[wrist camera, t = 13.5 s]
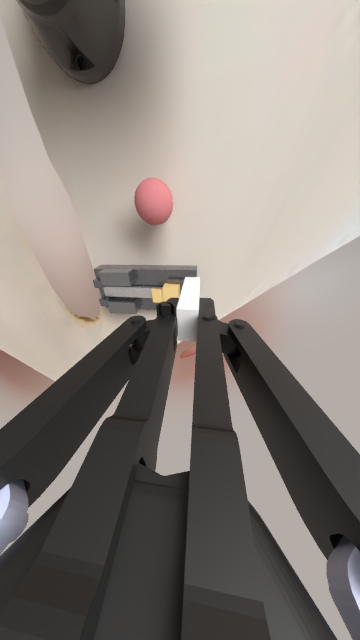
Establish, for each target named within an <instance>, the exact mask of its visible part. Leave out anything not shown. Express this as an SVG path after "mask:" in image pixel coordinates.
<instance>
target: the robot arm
mask: <svg viewBox="0 0 360 640" xmlns="http://www.w3.org/2000/svg"><path fill="white" fill-rule="evenodd" d="M17 2H18V3H19V5H20V7H21V9H22V11H23V12H24V14H25V16H26V18H27V20H28V21H29V23H30V25H31V27H32V29H33V30H34V32H35V34H36V36H37V37H38V39H39V41H40V42H41V44H42V45H43V47H44V48H45V50H46V51H47V52H48V54H49V55H50V56H51V57H52V58H53V60H54V61H55V62H56V63H57V64H58V65H59V66H60V67H61V68H62V69H63V70H64V71H65V72H66V73H67V74H68V75H70V76H71V77H72V78H74V79H76V80H78V81H80V82H83V83H95V82H98V81H100V80H102V79H103V78H105V77H106V76H107V75H108V74H109V73H110V71H111V70H112V69H113V67H114V65H115V63H116V61H117V59H118V56H119V53H120V50H121V46H122V41H123V35H124V25H125V2H124V0H17ZM199 293H200V277H185V280H184V283H183V287H182V291H181V294H180V298H169V299H168V300H167V301H165V302H160V303H158V304H157V305H156V309H157V318H156V319H154V320H148V321H146V318H145V317H143V316H133V317H130V318H129V319H127V320H126V321H125V322H124V323H123V324H122V325H120V326H119V327H118V328H117V329H116V330H115V331H113V332H112V333H111V334H110V335H109V336H108V337H107V338H105V339H104V340H103V341H102V342H101V343H100V344H98V345H97V346H96V347H95V348H94V349H93V350H92V351H90V352H89V353H88V354H87V355H86V356H85V357H83V358H82V359H81V360H80V361H79V362H78V363H76V364H75V365H74V366H73V367H72V368H71V369H70V370H68V371H67V372H66V373H65V374H64V375H63V376H61V377H60V378H59V379H58V380H57V381H56V382H55V383H53V384H52V385H51V386H50V387H49V388H48V389H46V390H45V391H44V392H43V393H42V394H41V395H40V396H38V397H37V398H36V399H35V400H34V401H33V402H32V403H30V404H29V405H28V406H27V407H26V408H24V409H23V410H22V411H21V412H20V413H19V414H18V415H16V416H15V417H14V418H13V419H12V420H11V421H9V422H8V423H7V424H6V425H5V426H4V427H3V428H1V429H0V554H1V553H2V551H3V550H4V549H5V547H6V546H7V545H8V544H9V543H10V542H12V541H14V540H15V539H16V538H17V537H18V536H19V535H20V534H21V533H22V532H23V530H24V528H25V527H26V525H27V522H28V513H27V510H28V507H29V506H30V505H32V503H34V502H35V501H36V499H37V498H39V497H40V495H41V494H42V493H43V492H44V491H45V490H46V488H48V486H49V485H50V484H51V483H52V482H53V481H54V480H55V478H56V477H57V476H58V475H59V473H60V472H61V471H62V470H63V468H64V467H65V466H66V464H67V463H68V462H69V460H70V459H71V458H72V456H73V455H74V454H75V452H76V451H77V449H78V448H79V447H80V445H81V444H82V443H83V441H84V440H85V438H86V437H87V436H88V434H89V433H90V432H91V430H92V429H93V428H94V426H95V425H96V424H97V422H98V421H99V419H100V418H101V417H102V415H103V414H104V413H105V411H106V410H107V408H108V407H109V406H110V404H111V403H112V402H113V400H114V399H115V398H116V396H117V395H118V393H119V392H120V391H121V389H122V388H123V387H124V385H125V384H126V383H127V381H128V380H129V382H128V384H127V386H126V388H125V391H124V393H123V395H122V397H121V400H120V402H119V405H118V406H117V409H116V411H115V413H114V414H113V415H112V416H110V417H108V418H106V419H105V420H104V422H103V423H102V425H101V426H100V428H99V430H98V433H97V434H96V437H95V439H94V441H93V443H92V445H91V447H90V449H89V451H88V453H87V456H86V457H85V460H84V462H83V464H82V466H81V468H80V470H79V472H78V474H77V477H76V479H75V480H74V483H73V485H72V487H71V488H70V489H69V490H68V491H67V492H66V493H65V494H64V495H63V496H62V497H61V498H60V499H58V500H57V501H56V502H55V503H54V504H53V505H52V506H51V507H50V508H49V509H48V510H47V511H46V512H45V513H44V514H43V515H42V516H41V517H40V518H39V519H38V520H37V521H36V522H35V523H34V524H33V525H32V526H31V527H30V528H29V529H27V530H26V531H25V532H24V533H23V534H22V535H21V536H20V537H19V538H18V539H17V540H16V541H15V542H14V543H13V544H12V545H11V546H10V547H9V548H8V549H7V550H6V551H5V552H4V553H3V554H2V555H1V556H0V640H337V638H336V637H335V635H334V634H333V632H332V631H331V629H330V627H329V625H328V624H327V622H326V621H325V619H324V618H323V616H322V614H321V613H320V611H319V609H318V608H317V606H316V605H315V603H314V601H313V600H312V598H311V597H310V595H309V593H308V592H307V590H306V589H305V587H304V585H303V584H302V582H301V581H300V579H299V577H298V576H297V574H296V573H295V571H294V569H293V568H292V566H291V565H290V563H289V561H288V560H287V558H286V557H285V555H284V553H283V552H282V550H281V548H280V547H279V545H278V544H277V542H276V540H275V539H274V537H273V536H272V534H271V532H270V531H269V529H268V528H267V526H266V524H265V523H264V521H263V520H262V518H261V517H260V515H259V514H258V513H257V511H256V510H255V509H254V507H253V506H252V505H251V504H250V503H249V501H248V500H247V494H246V487H245V481H244V474H243V468H242V461H241V455H240V449H239V443H238V438H237V435H236V433H235V431H234V430H233V428H232V423H231V415H230V407H229V400H228V393H227V385H226V378H225V371H224V364H223V356H222V353H223V354H224V357H225V359H226V361H227V363H228V365H229V367H230V369H231V372H232V374H233V376H234V378H235V380H236V382H237V384H238V386H239V389H240V391H241V393H242V395H243V397H244V399H245V401H246V403H247V405H248V408H249V410H250V412H251V414H252V416H253V418H254V420H255V422H256V424H257V426H258V429H259V430H260V433H261V435H262V437H263V439H264V441H265V443H266V445H267V448H268V450H269V452H270V454H271V456H272V458H273V460H274V462H275V464H276V466H277V469H278V471H279V473H280V475H281V477H282V479H283V481H284V483H285V485H286V488H287V490H288V492H289V494H290V496H291V498H292V500H293V502H294V504H295V506H296V508H297V510H298V512H299V513H300V515H301V517H302V519H303V521H304V523H305V525H306V527H307V528H308V530H309V531H310V533H311V535H312V537H313V538H314V540H315V542H316V543H317V545H318V547H319V548H320V550H321V551H322V553H323V554H324V556H325V557H326V559H327V560H328V561H327V579H328V583H329V591H330V593H331V596H332V598H333V601H334V603H335V605H336V607H337V609H338V611H339V613H340V615H341V616H342V619H343V621H344V623H345V625H346V627H347V629H348V631H349V633H350V635H351V637H352V639H353V640H360V454H359V453H358V452H357V451H356V450H355V448H354V447H353V446H352V445H351V444H350V443H349V441H348V440H347V439H346V438H345V437H344V436H343V434H342V433H341V432H340V431H339V430H338V428H337V427H336V426H335V425H334V424H333V422H332V421H331V420H330V419H329V418H328V417H327V415H326V414H325V413H324V412H323V411H322V409H321V408H320V407H319V406H318V405H317V404H316V402H315V401H314V400H313V399H312V398H311V396H310V395H309V394H308V393H307V392H306V391H305V390H304V388H303V387H302V386H301V385H300V384H299V382H298V381H297V380H296V379H295V378H294V376H293V375H292V374H291V373H290V372H289V370H288V369H287V368H286V367H285V366H284V365H283V363H282V362H281V361H280V360H279V359H278V357H277V356H276V355H275V354H274V353H273V352H272V350H271V349H270V348H269V347H268V346H267V344H266V343H265V342H264V341H263V340H262V339H261V337H260V336H259V335H258V334H257V333H256V331H255V330H254V329H253V328H252V327H251V325H250V324H248V323H247V322H246V321H243V320H239V319H235V320H231V321H230V322H229V324H227V323H223V322H221V321H219V320H218V319H217V316H215V308H214V301H213V300H212V299H211V298H199ZM177 336H178V340H183V341H197V343H196V364H195V383H194V402H193V403H194V404H193V422H192V440H191V459H190V471H187V472H182V473H177V474H172V475H168V476H162V475H160V474H158V473H156V472H155V469H156V461H157V447H158V441H159V436H160V431H161V426H162V421H163V416H164V410H165V405H166V400H167V395H168V389H169V384H170V379H171V373H172V368H173V363H174V358H175V353H176V347H177ZM131 344H132V345H131ZM130 345H131V346H130ZM129 378H130V379H129Z"/></svg>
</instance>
